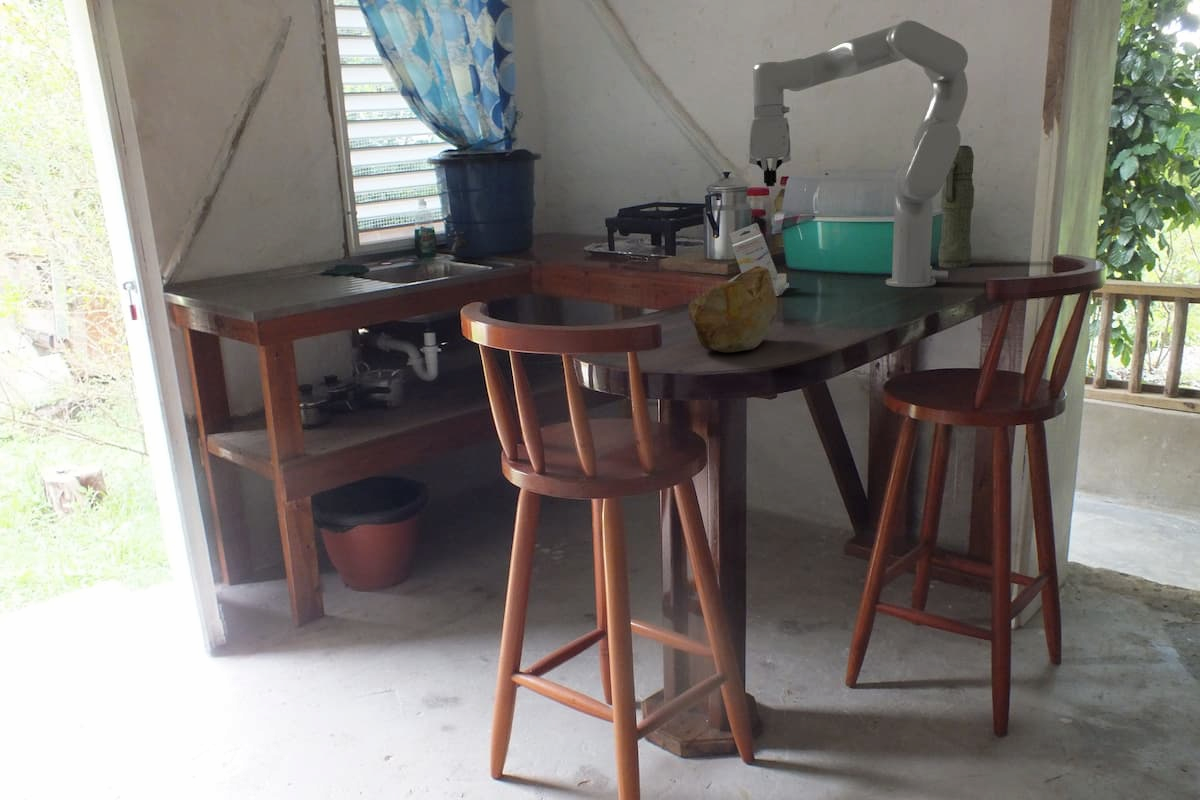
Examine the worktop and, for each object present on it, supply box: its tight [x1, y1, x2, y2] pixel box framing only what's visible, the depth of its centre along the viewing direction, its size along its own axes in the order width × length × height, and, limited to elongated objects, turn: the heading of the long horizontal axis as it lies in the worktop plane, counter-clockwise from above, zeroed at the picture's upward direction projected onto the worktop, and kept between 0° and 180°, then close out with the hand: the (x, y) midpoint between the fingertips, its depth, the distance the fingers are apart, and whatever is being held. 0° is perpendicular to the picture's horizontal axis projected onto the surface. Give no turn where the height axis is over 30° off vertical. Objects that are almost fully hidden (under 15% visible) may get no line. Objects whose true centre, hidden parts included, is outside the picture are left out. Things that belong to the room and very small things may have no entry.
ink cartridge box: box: [729, 222, 778, 278], centre depth 254 cm, size 9×5×15 cm, turn 80°
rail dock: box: [727, 272, 790, 297], centre depth 256 cm, size 14×15×4 cm
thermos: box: [937, 145, 975, 269], centre depth 279 cm, size 9×12×35 cm
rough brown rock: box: [688, 266, 778, 353], centre depth 191 cm, size 23×17×15 cm
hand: (770, 186), depth 252 cm, fingers closed
